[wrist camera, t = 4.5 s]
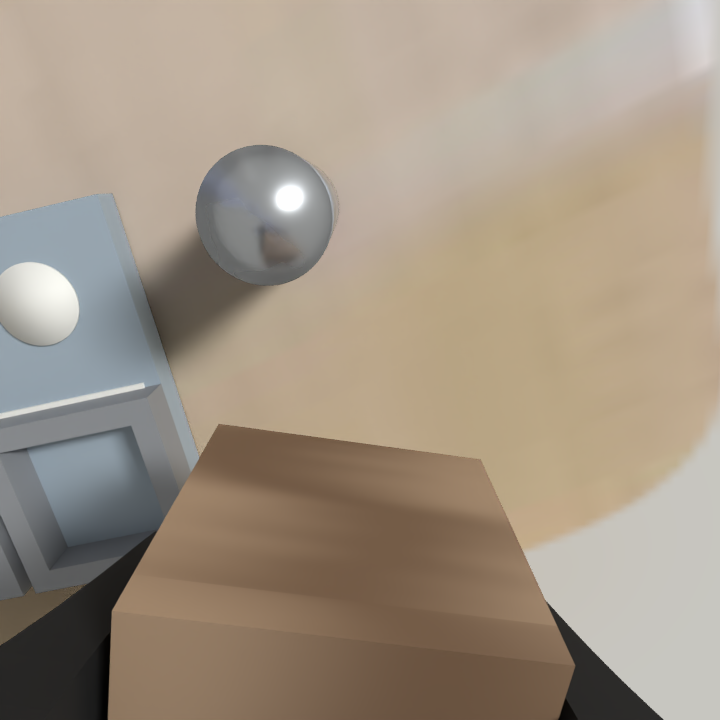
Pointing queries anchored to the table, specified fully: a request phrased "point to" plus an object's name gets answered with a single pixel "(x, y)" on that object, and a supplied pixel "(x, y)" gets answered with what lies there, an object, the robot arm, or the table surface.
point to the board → (80, 400)
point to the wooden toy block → (334, 593)
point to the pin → (266, 214)
